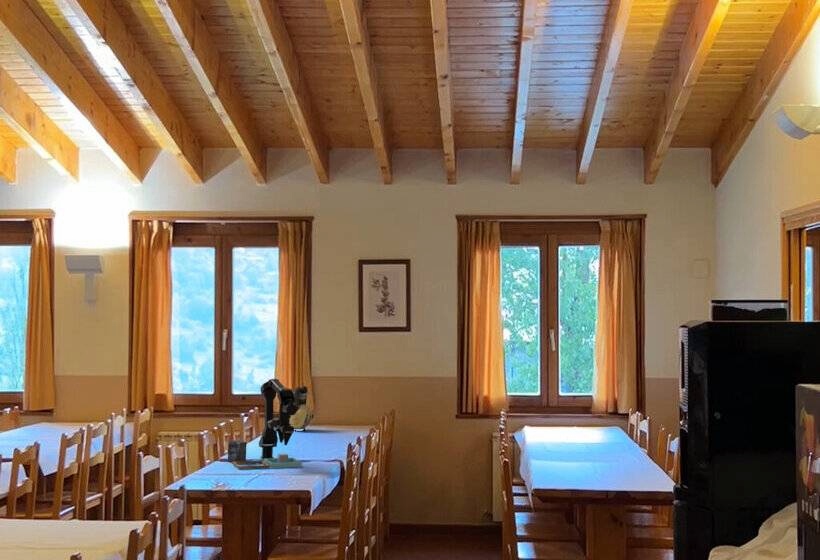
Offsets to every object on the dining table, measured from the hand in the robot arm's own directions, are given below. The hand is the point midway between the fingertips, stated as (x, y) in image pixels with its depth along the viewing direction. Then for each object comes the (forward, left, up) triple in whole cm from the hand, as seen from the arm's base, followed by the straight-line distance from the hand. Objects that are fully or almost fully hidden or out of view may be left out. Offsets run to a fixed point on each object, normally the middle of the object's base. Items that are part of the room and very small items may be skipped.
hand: (283, 443), depth 448 cm
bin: (0, 0, -11) cm, 11 cm away
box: (-15, -21, -11) cm, 28 cm away
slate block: (0, 0, -10) cm, 10 cm away
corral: (0, -17, -11) cm, 20 cm away
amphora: (-135, +45, -11) cm, 143 cm away
